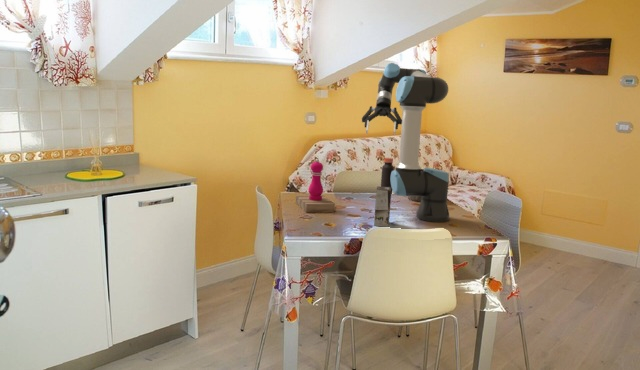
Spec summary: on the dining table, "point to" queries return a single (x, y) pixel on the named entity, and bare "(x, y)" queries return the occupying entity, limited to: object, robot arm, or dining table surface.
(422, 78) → the robot arm
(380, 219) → the coffee box
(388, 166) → the bottle
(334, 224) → the dining table surface
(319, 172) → the pepper mill
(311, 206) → the wooden slatted trivet
